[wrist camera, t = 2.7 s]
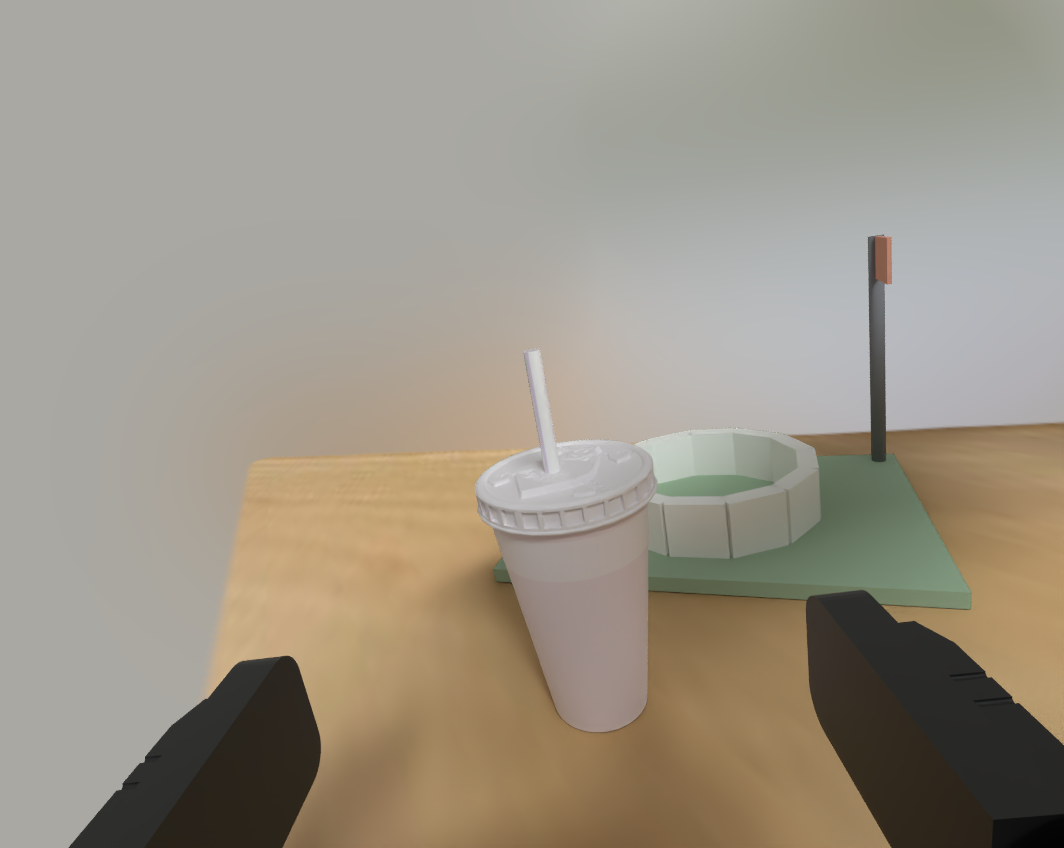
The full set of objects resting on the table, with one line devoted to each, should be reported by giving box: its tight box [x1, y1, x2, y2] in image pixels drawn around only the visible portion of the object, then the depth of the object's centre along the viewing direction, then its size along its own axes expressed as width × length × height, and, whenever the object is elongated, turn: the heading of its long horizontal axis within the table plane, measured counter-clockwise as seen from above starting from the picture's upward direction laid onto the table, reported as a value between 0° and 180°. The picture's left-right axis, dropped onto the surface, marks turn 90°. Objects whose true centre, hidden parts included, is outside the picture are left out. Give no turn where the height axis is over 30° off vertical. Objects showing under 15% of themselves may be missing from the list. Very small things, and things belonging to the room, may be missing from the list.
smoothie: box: [475, 349, 658, 732], centre depth 21 cm, size 6×6×14 cm
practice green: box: [493, 235, 971, 609], centre depth 33 cm, size 22×16×15 cm
